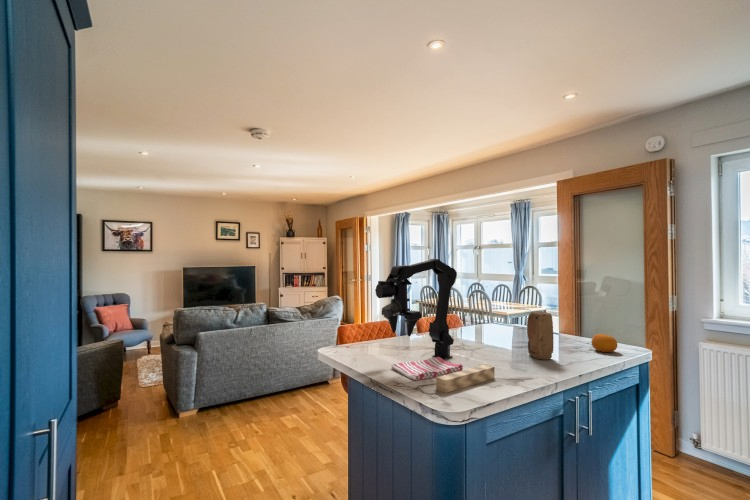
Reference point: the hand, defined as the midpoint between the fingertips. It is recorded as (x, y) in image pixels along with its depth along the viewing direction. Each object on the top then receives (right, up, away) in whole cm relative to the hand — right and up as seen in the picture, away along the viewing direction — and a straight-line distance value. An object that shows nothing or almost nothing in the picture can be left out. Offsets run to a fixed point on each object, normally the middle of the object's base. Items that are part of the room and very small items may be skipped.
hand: (401, 334), depth 154 cm
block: (+62, -13, +12) cm, 64 cm away
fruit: (+97, -13, +23) cm, 101 cm away
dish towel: (+9, -13, -8) cm, 18 cm away
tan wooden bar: (+21, -12, -24) cm, 34 cm away
